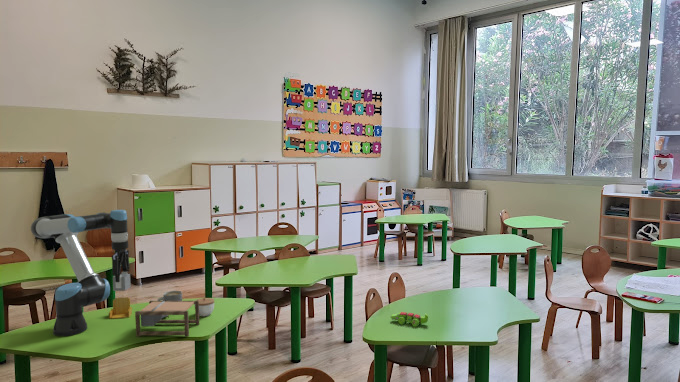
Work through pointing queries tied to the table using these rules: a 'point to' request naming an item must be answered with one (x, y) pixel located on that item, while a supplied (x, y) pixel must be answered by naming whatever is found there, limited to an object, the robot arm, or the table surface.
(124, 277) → the slate block
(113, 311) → the yellow toy armchair
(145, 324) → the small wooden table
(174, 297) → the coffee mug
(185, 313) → the stand
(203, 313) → the lidded jar
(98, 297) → the robot arm
